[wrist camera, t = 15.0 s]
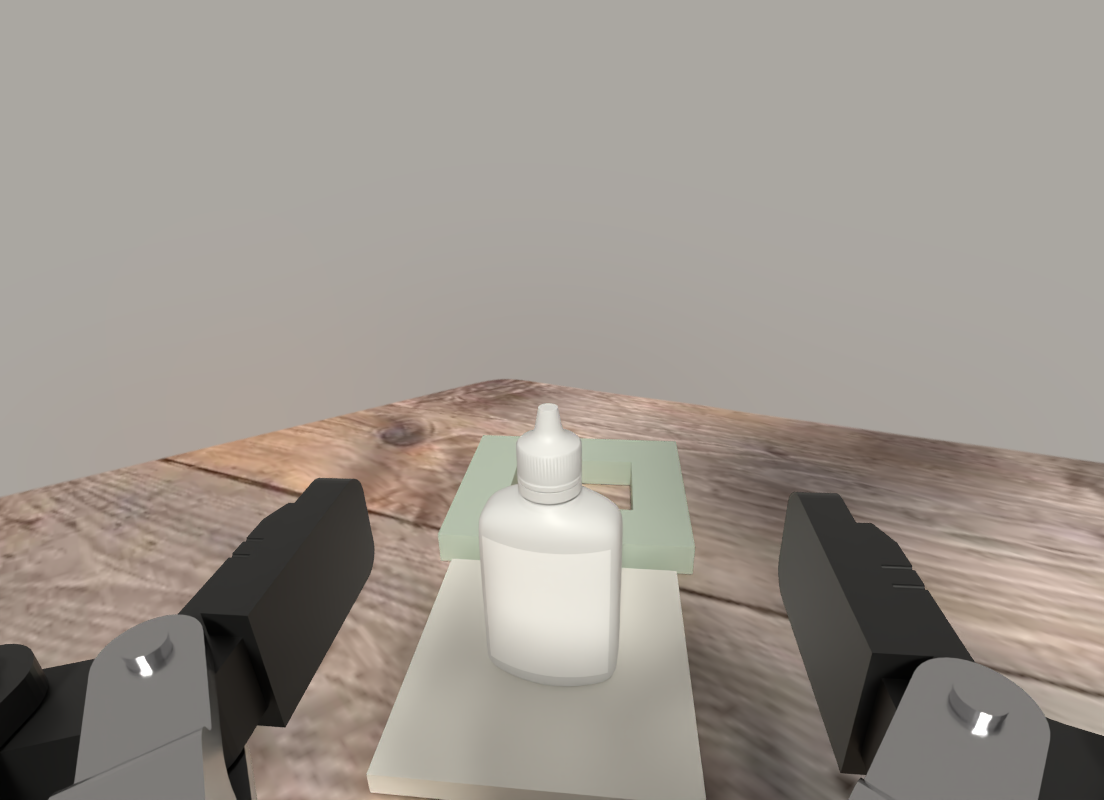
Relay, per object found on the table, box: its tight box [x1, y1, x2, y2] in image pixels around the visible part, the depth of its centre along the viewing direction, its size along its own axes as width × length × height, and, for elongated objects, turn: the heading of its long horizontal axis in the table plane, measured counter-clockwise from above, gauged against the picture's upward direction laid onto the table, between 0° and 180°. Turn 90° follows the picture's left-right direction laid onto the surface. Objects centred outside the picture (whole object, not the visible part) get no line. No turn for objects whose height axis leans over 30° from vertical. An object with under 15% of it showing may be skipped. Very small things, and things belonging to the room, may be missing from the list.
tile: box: [366, 559, 706, 800], centre depth 26 cm, size 12×12×1 cm
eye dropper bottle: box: [479, 403, 623, 687], centre depth 24 cm, size 4×6×12 cm
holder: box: [438, 435, 695, 574], centre depth 38 cm, size 14×12×2 cm
